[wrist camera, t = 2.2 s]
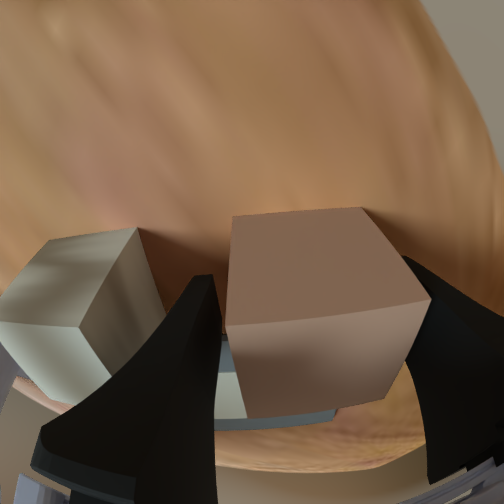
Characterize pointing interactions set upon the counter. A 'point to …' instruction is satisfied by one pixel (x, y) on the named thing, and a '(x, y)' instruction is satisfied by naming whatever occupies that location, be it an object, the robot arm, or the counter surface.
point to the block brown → (317, 310)
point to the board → (232, 406)
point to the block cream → (80, 312)
